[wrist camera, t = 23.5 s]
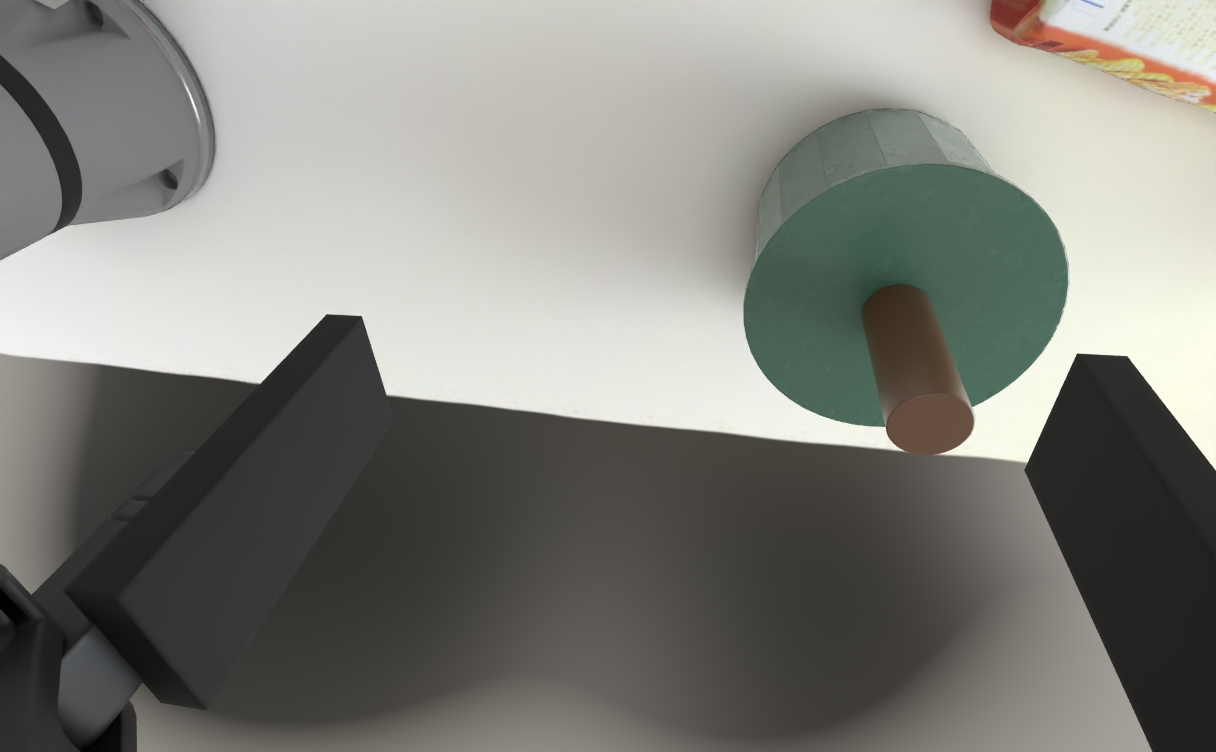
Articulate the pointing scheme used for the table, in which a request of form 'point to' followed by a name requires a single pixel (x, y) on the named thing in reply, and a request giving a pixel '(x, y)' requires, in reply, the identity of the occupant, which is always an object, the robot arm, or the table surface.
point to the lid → (906, 298)
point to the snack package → (1124, 40)
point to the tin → (857, 156)
